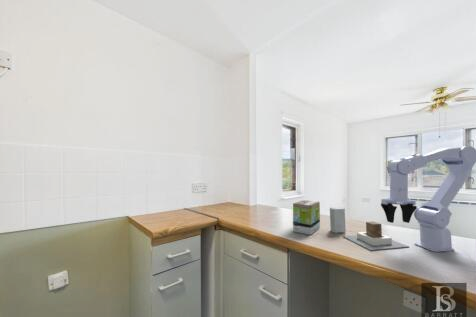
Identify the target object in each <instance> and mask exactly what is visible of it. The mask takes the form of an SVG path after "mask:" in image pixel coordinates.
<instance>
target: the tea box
mask: <svg viewBox="0 0 476 317" xmlns="http://www.w3.org/2000/svg"><path fill="white" fill-rule="evenodd" d="M320 208H321V203H320V201H316V200H305V199H302V200H299V201H297V202H294V203H292V232H295V233H299V234H300V233H301V234H304V235H309V236H312V235H313V234H314V233H315V232H316V231H317V230H319V229H320V228H321V211H320Z"/></svg>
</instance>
